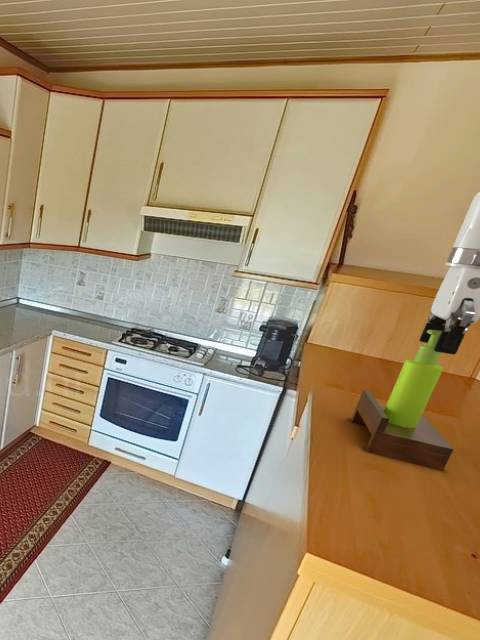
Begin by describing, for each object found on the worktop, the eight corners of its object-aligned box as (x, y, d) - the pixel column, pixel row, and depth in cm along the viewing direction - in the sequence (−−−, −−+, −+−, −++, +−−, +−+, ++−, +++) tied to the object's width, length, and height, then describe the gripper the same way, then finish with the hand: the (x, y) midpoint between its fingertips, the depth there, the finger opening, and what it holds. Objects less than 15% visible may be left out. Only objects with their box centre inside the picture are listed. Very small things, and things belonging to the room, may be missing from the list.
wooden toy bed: (413, 435, 111) (429, 403, 108) (442, 472, 94) (461, 435, 91) (350, 420, 116) (363, 389, 113) (366, 452, 99) (382, 417, 96)
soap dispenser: (427, 431, 100) (472, 337, 93) (387, 424, 102) (428, 331, 95) (414, 421, 105) (455, 331, 98) (376, 414, 107) (414, 325, 100)
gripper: (523, 265, 82) (477, 361, 88) (483, 260, 97) (446, 343, 103) (465, 259, 86) (424, 352, 92) (435, 255, 100) (401, 335, 106)
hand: (436, 347), depth 97 cm, fingers open, 9 cm apart
